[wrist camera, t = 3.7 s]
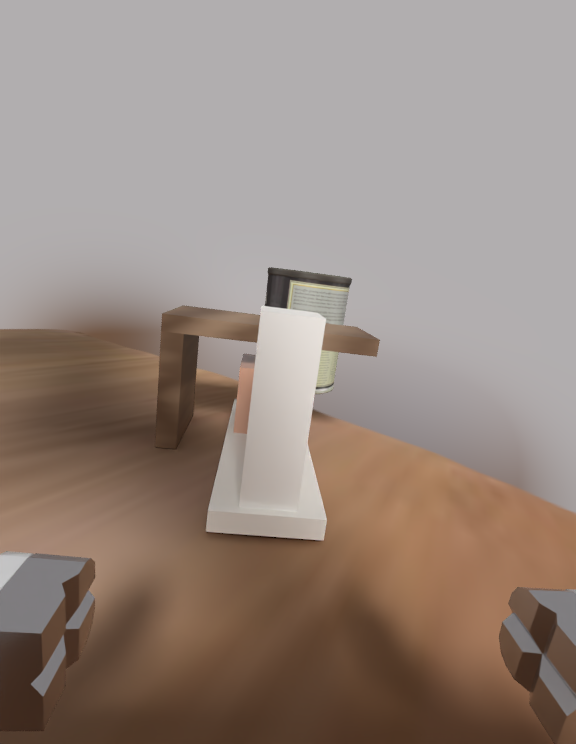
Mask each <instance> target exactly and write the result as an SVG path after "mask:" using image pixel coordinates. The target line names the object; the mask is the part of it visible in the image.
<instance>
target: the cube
mask: <svg viewBox="0 0 576 744" xmlns="http://www.w3.org/2000/svg"><path fill="white" fill-rule="evenodd" d="M255 358H256V355H251V354H243V358H242V362H241V366H240V374H239V383H238V393H237V403H236V412H235V422H234V432H233V433H243V434H247V429H248V420H249V411H250V402H251V393H252V384H253V376H254V367H255Z"/></svg>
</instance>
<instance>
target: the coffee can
mask: <svg viewBox="0 0 576 744" xmlns="http://www.w3.org/2000/svg"><path fill="white" fill-rule="evenodd" d="M351 281H352V279H351V278H346V277H340V276H332V275H326V274H318V273H311V272H303V271H296V270H288V269H279V268H268V284H267V293H266V301H265V306H268V307H276V308H284V309H292V310H300V311H308V312H316V313H319V314H320V315H321V316H323V317H324V318H326V323H328V324H336V325H343V323H344V317H345V311H346V305H347V299H348V293H349V286H350V284H351ZM338 353H339V352H333V351H324V350H321V357H320V363H319V370H318V377H317V383H316V390H315V394H322V393H327V392H330V391H332V389H333V388H334V385H333V384H334V377H335V371H336V365H337V359H338Z"/></svg>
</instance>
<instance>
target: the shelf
mask: <svg viewBox="0 0 576 744" xmlns="http://www.w3.org/2000/svg"><path fill="white" fill-rule="evenodd" d="M259 322H260V315H255V314H247V313H238V312H231V311H222V310H215V309H206V308H198V307H190V306H181V307H178V308H175V309H173V310H171V311H168V312H165V313H163V314H162V326H161V345H160V363H159V381H158V400H157V419H156V437H155V447H160V448H171V449H176V448H177V446H178V444H179V442H180V440H181V438H182V436H183V434H184V432H185V430H186V428H187V426H188V424H189V422H190V420H191V418H192V416H193V407H194V394H195V381H196V368H197V355H198V342H199V336H205V337H214V338H223V339H231V340H240V341H248V342H256V343H257V340H258V331H259ZM379 341H380V340H379V339H377V338H375V337H373V336H372V335H370V334H368V333H366V332H365V331H363V330H361V329H359V328H357V327H351V326H344V325H336V324H328V323H326V324H325V330H324V337H323V344H322V350H324V351H333V352H341V353H350V354H358V355H367V356H377V352H378V346H379Z"/></svg>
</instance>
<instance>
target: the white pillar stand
mask: <svg viewBox="0 0 576 744" xmlns="http://www.w3.org/2000/svg"><path fill="white" fill-rule="evenodd" d="M325 324H326V318H324V317H323V316H321V315H320V314H319V313H316V312H308V311H300V310H292V309H284V308H276V307H268V306H261V313H260V322H259V331H258V340H257V350H256V358H255V367H254V376H253V384H252V393H251V402H250V411H249V420H248V429H247V434H243V433H233V432H234V422H235V412H236V403H237V399H234V403H233V407H232V412H231V416H230V420H229V424H228V428H227V432H226V437H225V441H224V445H223V449H222V453H221V457H220V462H219V466H218V470H217V474H216V478H215V482H214V487H213V491H212V495H211V499H210V503H209V507H208V513H207V524H206V532H216V533H230V534H243V535H257V536H270V537H283V538H297V539H310V540H324V535H325V529H326V523H327V518H326V514H325V510H324V506H323V502H322V498H321V494H320V490H319V487H318V483H317V479H316V475H315V471H314V467H313V463H312V459H311V455H310V451H309V447H308V436H309V429H310V423H311V416H312V410H313V403H314V396H315V390H316V383H317V377H318V370H319V363H320V357H321V350H322V344H323V337H324V330H325Z"/></svg>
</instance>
